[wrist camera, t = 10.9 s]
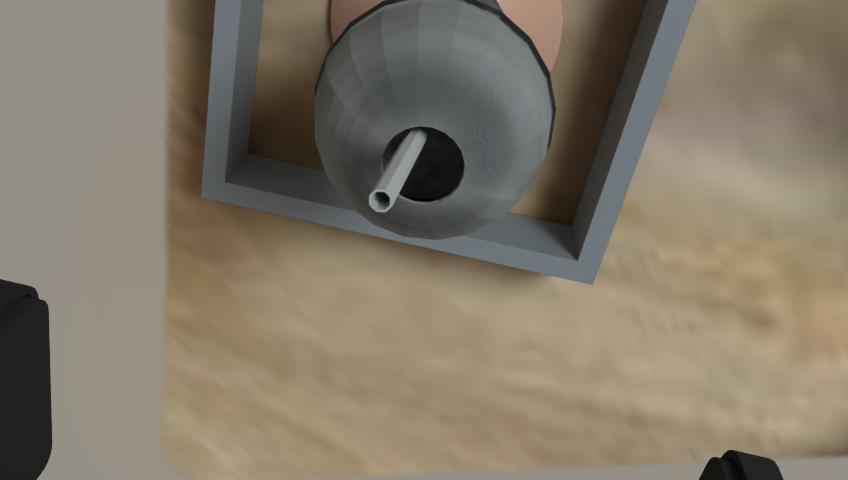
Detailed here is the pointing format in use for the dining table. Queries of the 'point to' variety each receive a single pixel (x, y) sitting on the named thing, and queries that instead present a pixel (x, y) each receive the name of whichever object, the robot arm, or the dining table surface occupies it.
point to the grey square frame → (496, 242)
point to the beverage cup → (433, 115)
